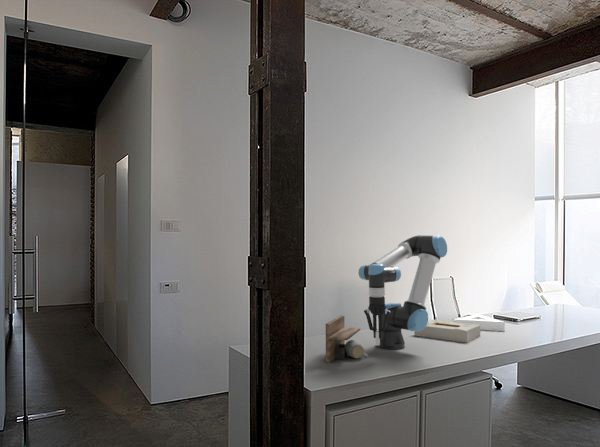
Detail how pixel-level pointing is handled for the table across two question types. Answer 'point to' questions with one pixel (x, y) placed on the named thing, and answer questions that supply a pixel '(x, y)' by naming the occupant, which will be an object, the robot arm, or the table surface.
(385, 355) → the table surface
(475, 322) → the triangle block
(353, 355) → the ceramic mug
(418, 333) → the box
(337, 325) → the walnut shelf
